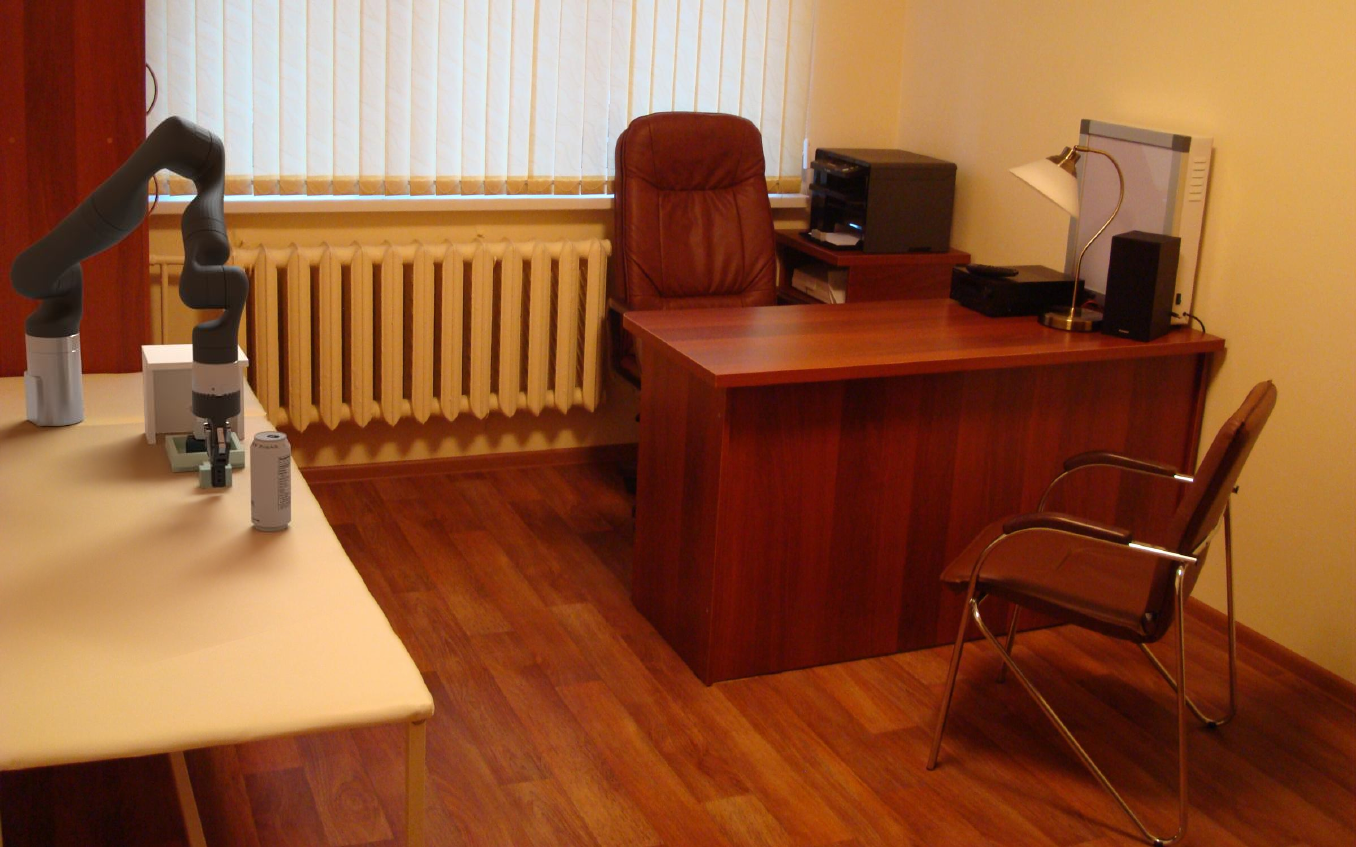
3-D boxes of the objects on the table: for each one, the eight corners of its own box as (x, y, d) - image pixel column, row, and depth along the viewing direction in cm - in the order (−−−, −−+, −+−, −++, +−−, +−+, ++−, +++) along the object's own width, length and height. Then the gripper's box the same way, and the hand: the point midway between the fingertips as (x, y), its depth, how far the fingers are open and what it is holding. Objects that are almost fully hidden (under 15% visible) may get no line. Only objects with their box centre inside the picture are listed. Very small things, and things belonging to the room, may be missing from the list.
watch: (221, 447, 234) (220, 390, 231) (218, 461, 227) (216, 402, 224) (189, 448, 233) (187, 390, 230) (184, 461, 225) (182, 402, 222)
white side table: (249, 448, 238) (248, 360, 233) (151, 454, 230) (148, 363, 226) (238, 427, 250) (237, 343, 245) (145, 432, 242) (141, 345, 237)
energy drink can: (260, 517, 205) (259, 428, 201) (297, 521, 205) (296, 432, 200) (245, 530, 199) (243, 439, 195) (282, 534, 199) (281, 443, 195)
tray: (253, 484, 219) (253, 466, 218) (179, 489, 214) (178, 471, 213) (235, 447, 238) (234, 430, 237) (166, 451, 232) (165, 434, 231)
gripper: (187, 377, 213) (190, 475, 217) (196, 398, 201) (199, 501, 206) (234, 375, 216) (236, 472, 221) (246, 395, 205) (247, 497, 209)
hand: (218, 485), depth 213 cm, fingers closed
